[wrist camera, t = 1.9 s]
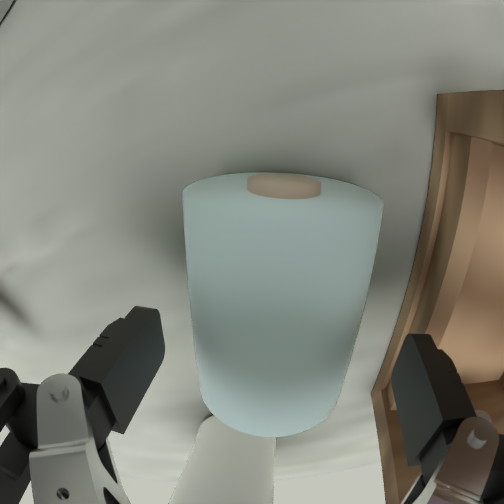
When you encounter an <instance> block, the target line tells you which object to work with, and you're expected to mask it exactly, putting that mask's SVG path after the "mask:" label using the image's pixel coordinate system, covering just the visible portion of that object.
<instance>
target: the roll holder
mask: <svg viewBox="0 0 504 504" xmlns="http://www.w3.org/2000/svg"><path fill="white" fill-rule="evenodd" d="M407 334H430V335H431V336H432V338H433V340H434V343H435V345H436V347H437V349H442V350H443V351H444V352H445V353H446V354H447V355H448V356H449V357H450V358H451V359H452V361H453V363H454V365H455V367H456V369H457V373H459V376H460V378H461V380H462V381H461V383H463V384H464V387H465V389H466V391H467V394H468V396H469V398H470V401H471V403H472V406H473V408H474V410H475V413H476V415H477V417H481V418H484V419H486V420H488V421H489V422H491V423H492V424H493V425H494V426H495V428H496V429H497V431H498V434H504V90H488V91H470V92H456V93H445V94H437V113H436V128H435V140H434V151H433V160H432V168H431V176H430V183H429V189H428V196H427V202H426V208H425V213H424V219H423V224H422V229H421V234H420V238H419V243H418V248H417V252H416V256H415V260H414V265H413V269H412V273H411V276H410V280H409V284H408V288H407V291H406V295H405V298H404V302H403V305H402V309H401V312H400V315H399V318H398V321H397V325H396V328H395V331H394V334H393V337H392V340H391V343H390V345H389V348H388V351H387V354H386V357H385V359H384V362H383V365H382V367H381V370H380V373H379V375H378V378H377V380H376V383H375V385H374V388H373V390H372V392H371V397H372V403H373V409H374V415H375V421H376V427H377V434H378V441H379V448H380V456H381V463H382V472H383V481H384V490H385V501H386V504H401V502H402V501H403V499H404V498H405V496H406V495H407V493H408V492H409V490H410V488H411V487H412V485H413V484H414V482H415V480H416V479H417V477H418V476H419V474H420V473H421V472H422V469H421V465H417V466H409V467H408V464H407V458H406V452H405V447H404V441H403V436H402V431H401V426H400V421H399V417H398V412H397V407H396V403H395V399H394V394H393V390H392V385H391V377H392V371H393V368H394V365H395V363H396V360H397V357H398V355H399V352H400V350H401V347H402V344H403V341H404V339H405V337H406V335H407Z"/></svg>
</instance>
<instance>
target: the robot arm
mask: <svg viewBox="0 0 504 504" xmlns="http://www.w3.org/2000/svg"><path fill="white" fill-rule="evenodd" d="M13 1H14V0H0V22H1V20H2V19H3V17H4V15H5V14H6V12H7V11H8V9H9V8H10V6H11V4H12V2H13ZM164 354H165V344H164V338H163V332H162V325H161V319H160V313H159V311H158V310H157V309H152V308H146V307H140V306H135V307H134V308H133V309H132V310H131V311H130V312H129V314H128V315H127V316H126V317H125V318H119V319H118V320H116V321H114V322H113V323H111V324H109V325H108V326H107V327H106V328H105V329H104V331H103V332H102V333H101V334H100V337H98V338H97V339H96V340H95V341H94V343H93V345H91V346H90V347H89V349H88V350H87V351H86V352H85V354H84V355H83V356H82V357H81V358H80V360H79V361H78V362H77V363H76V365H75V366H74V367H73V368H72V370H71V371H70V372H69V373H68V374H56V375H52V376H50V377H48V378H47V379H45V380H44V381H43V382H42V383H41V384H40V385H39V384H29V383H21V382H20V380H19V378H18V376H17V374H16V373H15V372H14V371H13V370H11V369H9V368H0V432H1V430H2V429H3V427H4V426H5V425H6V426H7V428H8V429H9V430H10V432H9V434H8V435H7V437H6V438H5V440H4V441H3V443H2V445H1V446H0V504H19V502H20V500H21V498H22V496H23V494H24V492H25V490H26V488H27V486H28V484H29V482H30V480H31V484H32V492H33V499H34V504H131V503H130V501H129V499H128V497H127V496H126V494H125V492H124V490H123V487H122V485H121V482H120V478H119V475H118V472H117V469H116V465H115V462H114V458H113V455H112V451H111V448H110V444H109V441H108V438H107V437H108V435H109V433H110V432H111V430H112V431H115V432H118V433H121V434H124V433H125V431H126V429H127V427H128V425H129V423H130V421H131V419H132V417H133V416H134V414H135V412H136V410H137V408H138V406H139V404H140V402H141V401H142V399H143V397H144V395H145V393H146V391H147V389H148V388H149V386H150V384H151V382H152V380H153V378H154V377H155V375H156V373H157V371H158V369H159V367H160V366H161V364H162V361H163V358H164ZM461 381H462V380H461V378H460V376H459V373H457V369H456V367H455V365H454V363H453V361H452V359H451V358H450V357H449V356H448V355H447V354H446V353H445V352H444V351H443V350H442V349H437V347H436V345H435V343H434V340H433V338H432V336H431V335H430V334H407V335H406V337H405V339H404V341H403V344H402V347H401V350H400V352H399V355H398V357H397V360H396V363H395V365H394V368H393V371H392V377H391V385H392V390H393V394H394V399H395V403H396V407H397V412H398V417H399V421H400V426H401V431H402V436H403V441H404V447H405V452H406V458H407V464H408V467H409V466H417V465H421V469H422V472H421V473H420V474H419V476H418V477H417V479H416V480H415V482H414V484H413V485H412V487H411V488H410V490H409V492H408V493H407V495H406V496H405V498H404V499H403V501H402V502H401V504H504V434H498V431H497V429H496V428H495V426H494V425H493V424H492V423H491V422H489V421H488V420H486V419H484V418H481V417H477V415H476V413H475V410H474V408H473V406H472V403H471V401H470V398H469V396H468V394H467V391H466V389H465V387H464V384H463V383H461Z"/></svg>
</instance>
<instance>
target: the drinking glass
mask: <svg viewBox="0 0 504 504" xmlns="http://www.w3.org/2000/svg"><path fill="white" fill-rule="evenodd" d="M275 451H276V437H261V436H254V435H250V434H246V433H243V432H240V431H238V430H235V429H233V428H231V427H229V426H228V425H226V424H224V423H223V422H221V421H220V420H219V419H217V418H216V417H215V416H211V417H209V418H207V419H206V420H204V421H203V422H202V424H201V425H200V427H199V429H198V432H197V435H196V439H195V442H194V445H193V448H192V450H191V452H190V455H189V457H188V460H187V462H186V464H185V467H184V469H183V471H182V474H181V476H180V478H179V480H178V483H177V485H176V488H175V490H174V492H173V494H172V496H171V498H170V501H169V503H168V504H273V493H274V492H273V491H274V460H275Z"/></svg>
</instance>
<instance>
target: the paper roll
mask: <svg viewBox="0 0 504 504" xmlns="http://www.w3.org/2000/svg"><path fill="white" fill-rule="evenodd" d="M182 195H183V216H184V234H185V249H186V263H187V276H188V288H189V299H190V309H191V319H192V328H193V338H194V346H195V355H196V363H197V370H198V378H199V385H200V392H201V395H202V398H203V401H204V402H205V404H206V406H207V407H208V409H209V410H210V411H211V413H212V414H213V415H214V416H215V417H216V418H217V419H219V420H220V421H221V422H223V423H224V424H226V425H228V426H229V427H231V428H233V429H235V430H238V431H240V432H243V433H246V434H250V435H254V436H261V437H284V436H290V435H294V434H298V433H301V432H304V431H306V430H308V429H310V428H312V427H314V426H316V425H317V424H319V423H320V422H322V421H323V420H324V419H325V418H326V417H327V416H328V415H329V414H330V413H331V411H332V410H333V409H334V407H335V405H336V403H337V400H338V398H339V395H340V392H341V389H342V385H343V382H344V379H345V376H346V373H347V369H348V366H349V363H350V359H351V356H352V352H353V349H354V345H355V342H356V338H357V334H358V330H359V327H360V323H361V319H362V315H363V311H364V306H365V302H366V298H367V294H368V289H369V285H370V280H371V275H372V270H373V266H374V261H375V255H376V250H377V245H378V239H379V233H380V227H381V221H382V215H383V208H384V203H383V201H382V199H381V198H380V197H379V196H377V195H376V194H374V193H373V192H371V191H369V190H367V189H364V188H362V187H359V186H357V185H353V184H350V183H347V182H343V181H339V180H335V179H330V178H325V177H319V176H312V175H305V174H292V173H276V172H250V173H235V174H226V175H220V176H214V177H210V178H206V179H202V180H199V181H196V182H194V183H192V184H190V185H188V186H187V187H186V188H185V189H184V190H183V194H182Z"/></svg>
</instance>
